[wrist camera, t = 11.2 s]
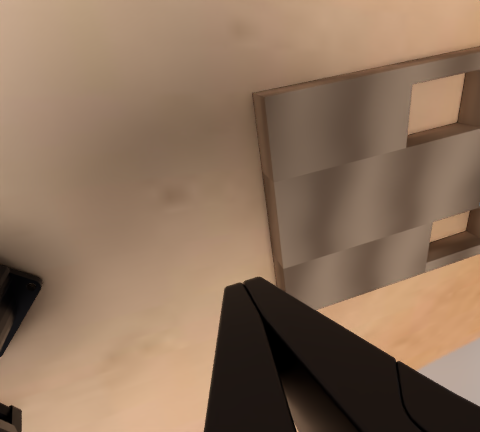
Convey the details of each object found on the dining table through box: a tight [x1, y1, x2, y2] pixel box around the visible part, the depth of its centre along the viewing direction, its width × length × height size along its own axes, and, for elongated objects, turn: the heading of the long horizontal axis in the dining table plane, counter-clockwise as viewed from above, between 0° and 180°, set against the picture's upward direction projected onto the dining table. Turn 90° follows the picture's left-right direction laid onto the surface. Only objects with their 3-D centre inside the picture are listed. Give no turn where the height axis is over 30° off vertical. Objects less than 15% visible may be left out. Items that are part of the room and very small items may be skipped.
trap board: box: [253, 46, 480, 310], centre depth 21 cm, size 24×16×7 cm, turn 99°
